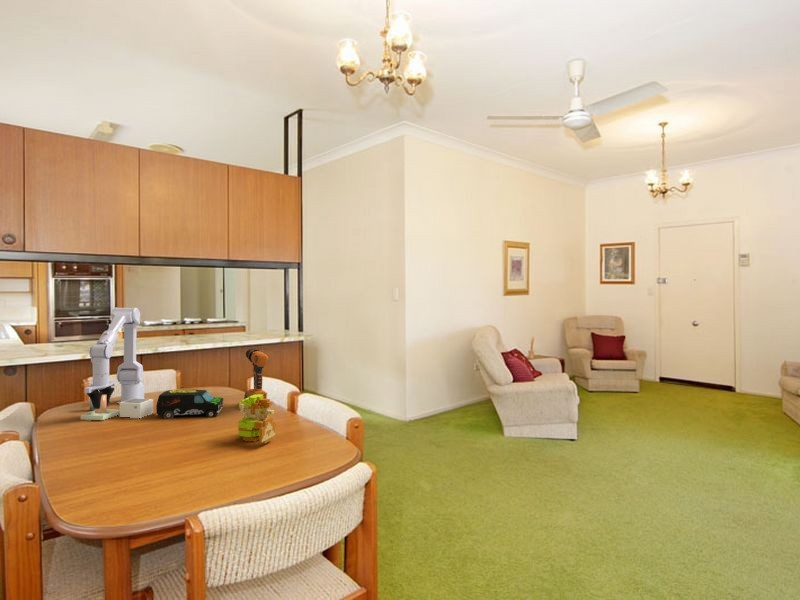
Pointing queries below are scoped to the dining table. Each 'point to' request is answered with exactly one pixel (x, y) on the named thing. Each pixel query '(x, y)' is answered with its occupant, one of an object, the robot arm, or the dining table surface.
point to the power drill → (257, 371)
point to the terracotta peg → (102, 405)
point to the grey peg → (91, 406)
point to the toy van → (188, 403)
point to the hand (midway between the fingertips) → (100, 407)
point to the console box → (136, 408)
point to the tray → (100, 415)
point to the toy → (256, 419)
